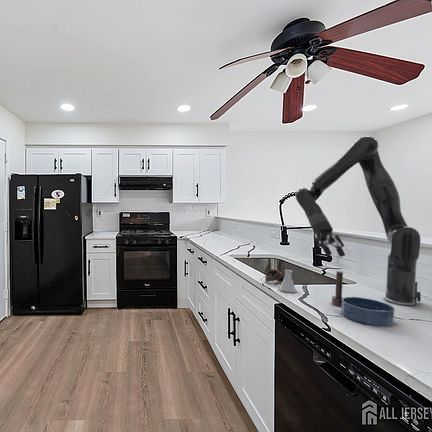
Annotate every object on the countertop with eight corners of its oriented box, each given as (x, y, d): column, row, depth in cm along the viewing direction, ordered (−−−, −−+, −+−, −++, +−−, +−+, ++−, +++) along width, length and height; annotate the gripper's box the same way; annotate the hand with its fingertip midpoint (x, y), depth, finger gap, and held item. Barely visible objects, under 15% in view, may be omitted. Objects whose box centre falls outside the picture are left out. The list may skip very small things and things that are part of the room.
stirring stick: (339, 302, 120) (340, 270, 120) (347, 306, 116) (348, 273, 115) (329, 302, 120) (330, 270, 119) (337, 306, 116) (338, 273, 115)
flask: (295, 294, 131) (296, 272, 131) (278, 291, 135) (279, 270, 135) (296, 290, 138) (297, 269, 137) (280, 287, 141) (281, 267, 141)
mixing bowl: (368, 310, 112) (369, 296, 112) (405, 327, 97) (406, 311, 97) (331, 310, 111) (332, 296, 111) (363, 327, 96) (364, 311, 96)
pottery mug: (289, 287, 144) (283, 273, 143) (271, 293, 147) (264, 280, 146) (283, 275, 156) (277, 263, 154) (266, 281, 158) (260, 269, 157)
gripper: (315, 218, 127) (332, 251, 119) (337, 221, 132) (354, 252, 123) (302, 227, 133) (317, 258, 124) (323, 229, 138) (339, 259, 129)
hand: (336, 255), depth 124 cm, fingers open, 8 cm apart
